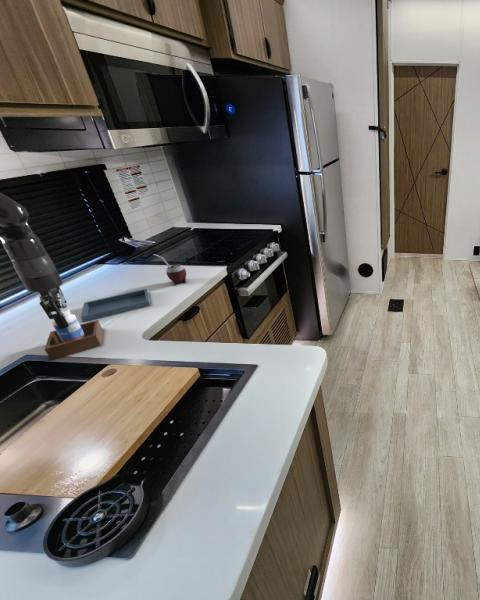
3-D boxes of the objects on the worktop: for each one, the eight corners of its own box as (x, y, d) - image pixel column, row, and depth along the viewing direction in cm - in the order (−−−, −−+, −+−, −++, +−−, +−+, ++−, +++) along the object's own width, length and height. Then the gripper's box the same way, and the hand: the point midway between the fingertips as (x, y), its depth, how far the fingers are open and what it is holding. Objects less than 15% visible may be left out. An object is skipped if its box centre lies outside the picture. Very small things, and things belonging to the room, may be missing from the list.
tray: (84, 323, 116) (80, 317, 115) (87, 308, 126) (84, 302, 124) (151, 306, 126) (148, 300, 125) (148, 294, 136) (146, 288, 135)
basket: (51, 361, 97) (44, 349, 95) (57, 343, 105) (50, 331, 103) (102, 347, 103) (95, 335, 101) (103, 331, 111) (97, 319, 109)
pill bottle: (57, 341, 101) (41, 314, 96) (76, 332, 106) (62, 305, 101) (71, 344, 100) (55, 316, 95) (89, 334, 104) (75, 307, 100)
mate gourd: (192, 280, 148) (182, 248, 141) (180, 288, 141) (168, 254, 134) (177, 279, 149) (166, 247, 142) (164, 287, 142) (152, 254, 135)
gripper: (24, 267, 96) (52, 317, 103) (12, 283, 85) (44, 338, 93) (59, 261, 100) (84, 310, 107) (52, 276, 89) (79, 329, 97)
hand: (65, 323), depth 100 cm, fingers closed on pill bottle, 5 cm apart
